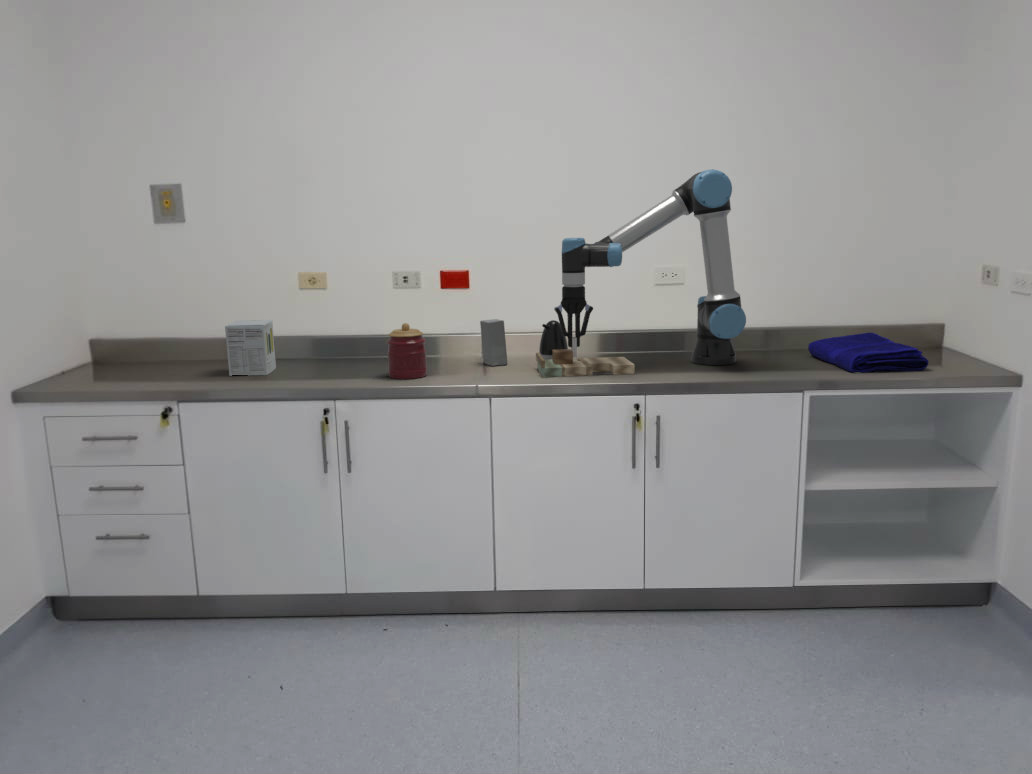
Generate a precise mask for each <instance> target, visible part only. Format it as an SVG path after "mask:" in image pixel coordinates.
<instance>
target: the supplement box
mask: <svg viewBox="0 0 1032 774" xmlns="http://www.w3.org/2000/svg"><path fill="white" fill-rule="evenodd" d="M224 331H225V341H226V342H225V344H226V352H227V353H226V354H227V355H226V356H227V363H228V376H229V377H233V376H232V375H248V376H268V375H269V374H270V373H272V372H273V371H275V370H277V363H276V361H277V360H276V351H275V340H274V326H273V319H269V320H268V319H261V320H235V321H233V322H231V323H228V324H226V325H225V326H224Z"/></svg>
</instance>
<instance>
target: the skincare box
mask: <svg viewBox="0 0 1032 774" xmlns="http://www.w3.org/2000/svg"><path fill="white" fill-rule="evenodd" d="M479 322H480V323H479V324H480V325H479V326H480V335H481V348H482V357H483V358H482V360H483V364H485V365H487V366H488V365H489V366H491V367H497V366H506V365H508V354H507V353H508V351H507V344H506V343H507V341H506V330H505V320H503V319H499V318H495V319H494V318H493V319H485V320H480V321H479Z"/></svg>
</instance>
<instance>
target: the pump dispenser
mask: <svg viewBox="0 0 1032 774" xmlns="http://www.w3.org/2000/svg"><path fill="white" fill-rule="evenodd" d="M541 326H542V327H543V330H542V334H541V337H540V342H539V348H538V349H539V351H538V353H539V354H540V355H541V356H542V357H543V359H544V360H550V359H552V350H559V349H569V346H568V339H567V336H564V335H563V334H562V330H561V326H560V322H559V320H555V319H554V320H553V319H552V320H549V321H548V322H547V323H543V324H542V325H541Z"/></svg>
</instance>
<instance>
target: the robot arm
mask: <svg viewBox="0 0 1032 774" xmlns="http://www.w3.org/2000/svg"><path fill="white" fill-rule="evenodd" d="M732 193H733V185H732V182H731V179H730V178H729V176H728V175H727V174H726V173H724V172H723V171H721V170H717V169H707V170H703V171H700V172H697V173H694V174H693V175H692V176H691V177H690V178H688V179H687V180H686V181H685V182H683V184H680V186H678V187H677V188H675V189H674V190H672V192H671V195H670V196H668V197H666V198H665V199H664V200H662V201H661V202H658V203H657V204H655V205H653V206H652V207H651V208H649V209H647V210H646V211H645V212H643V213H641V214H640V215H638V216H636V217H635V218H633V219H632V220H630V221H629V222H627V223H626V224H624V225H622V226H620V227H619V228H617V229H616V230H614V231H612V232H611V233H609V234H608V235H607V236H605V237H603V238H602V239H599V240H598V241H595V242H593V243H586V239H585V238H584V237H566V238H563V240H562V241H561V272H562V273H561V285H563V286H562V287H561V302H560V304H559V305H558V306H555V307H554V311H555V313H556V314H557V318H558V322H559V323H560V326H561V330H562V334H563V335H564V336H566V338H567V346H568V348H570V350H571V351H572V352H573V358H578V349H577V348H580V346H581V337H582V336H585V335H586V333H587V330H588V329H587V328H588V323H589V321H590V316H591V313H592V312H593V310H594V306H591V305H589V304H588V302H587V300H586V287H585V286H584V285H585V284H586V268H595V267H596V268H601V267H602V268H605V267H608V268H613V267H620V266H621V265H622V262H623V253H625V251H627V250H629V249H630V248H632V247H633V246H635V245H637V244H638V243H640V242H642V241H643V240H645V239H646V238H648V237H650V236H651V235H653V234H654V233H657V231H659V230H661V229H663V228H664V227H665V226H667V225H670V224H671V223H672V222H674V221H675V220H677V219H679V218H680V217H681V216H689V215H691V214H692V213H693V216H694V217H695V218H696V219H697V220H698V221H699V227H700V228H699V229H700V238H701V244H702V245H701V246H702V247H701V248H702V253H703V262H704V263H703V264H704V270H705V280H706V289H707V294H706V295H703V296H699V298H698V299H697V305H696V307H697V323H696V324H697V327H696V331H697V332H696V334H697V335H696V341H695V345H694V347H693V349H692V353H691V359H690V361H691V362H692V363H694V364H698V365H706V366H708V365H709V366H727V365H732V364H735V363H736V362H737V355H736V352H735V349H734V348H735V347H734V344H733V342H732V339H733V338H734V339H735V338H736V337H738V336H739V335H740V334H741V333H742V332H743V331H744V329H745V328H746V324H747V316H746V314H745V311H744V309H743V307H742V300H741V294H740V293H738V292H737V291H736V289H735V280H734V272H733V270H734V269H733V265H732V264H733V263H732V255H731V254H732V253H731V252H732V251H731V245H730V235H729V234H730V233H729V226H728V215H729V213H730V212H731V211H732V208H731V207H732V206H731V197H732ZM584 309H585V310H584ZM563 310H564V311H565V312H566V315H567V328H566V324H565V321H564V317H563V313H562V312H563ZM583 310H584V311H585V313H584V317H583V321H582V326H581V313H582V312H583ZM573 315H574V322H575V323H574V329H575V330H574V332H575V335H574V336H573Z"/></svg>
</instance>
